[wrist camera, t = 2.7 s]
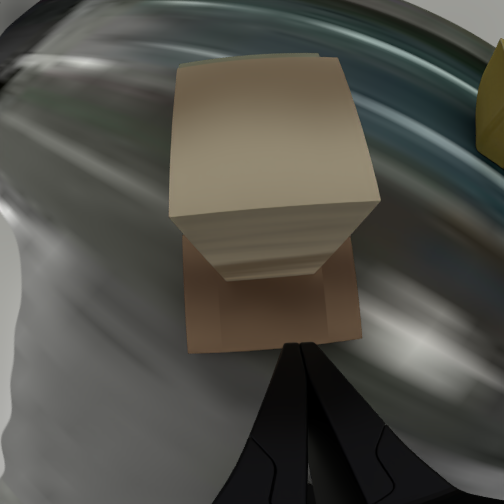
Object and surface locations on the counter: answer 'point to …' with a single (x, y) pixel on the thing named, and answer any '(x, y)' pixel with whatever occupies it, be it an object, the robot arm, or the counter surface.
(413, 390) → the counter surface
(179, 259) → the counter surface
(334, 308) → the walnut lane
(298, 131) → the beech block
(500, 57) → the flower pot
